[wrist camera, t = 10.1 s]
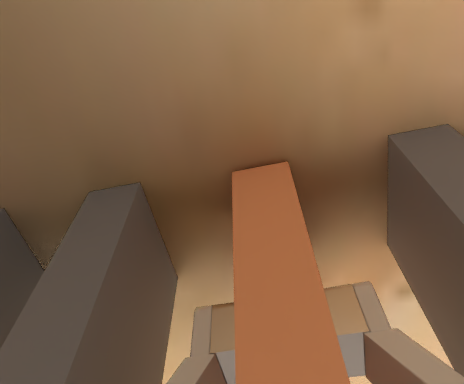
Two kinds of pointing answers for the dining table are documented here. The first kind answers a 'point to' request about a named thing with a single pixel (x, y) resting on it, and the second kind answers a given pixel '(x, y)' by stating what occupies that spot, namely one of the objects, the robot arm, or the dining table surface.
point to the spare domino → (278, 287)
